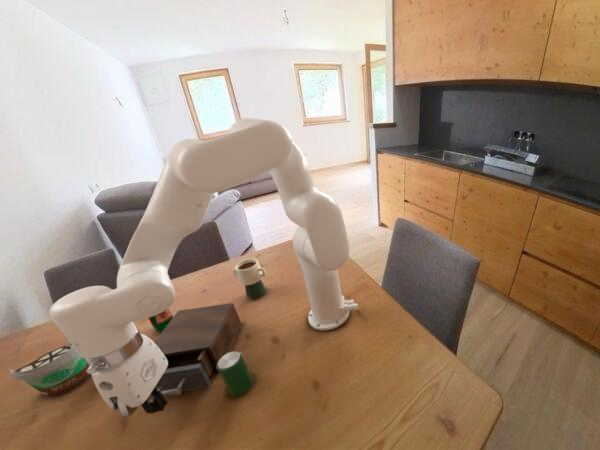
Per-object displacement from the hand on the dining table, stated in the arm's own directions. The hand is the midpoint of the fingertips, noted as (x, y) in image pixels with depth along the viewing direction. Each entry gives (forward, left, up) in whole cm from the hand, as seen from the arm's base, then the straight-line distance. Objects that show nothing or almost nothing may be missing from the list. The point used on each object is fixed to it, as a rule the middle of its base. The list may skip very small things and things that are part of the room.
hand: (157, 408), depth 59 cm
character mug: (-8, -40, -4) cm, 41 cm away
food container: (+29, -14, -4) cm, 33 cm away
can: (-14, -5, -4) cm, 15 cm away
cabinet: (0, -18, -4) cm, 19 cm away
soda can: (+16, -30, -4) cm, 35 cm away
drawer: (0, -11, -3) cm, 11 cm away
